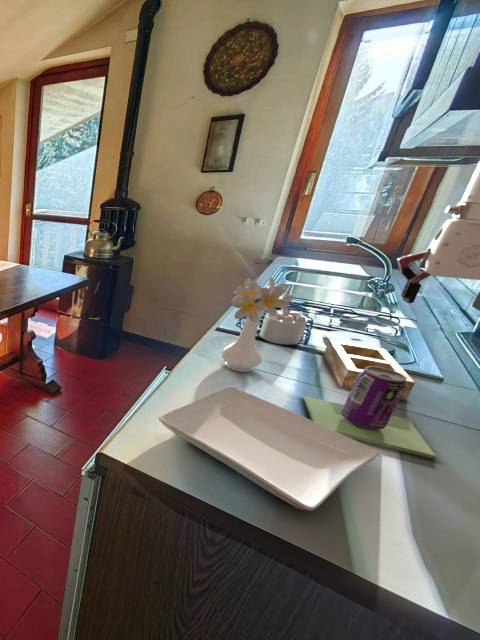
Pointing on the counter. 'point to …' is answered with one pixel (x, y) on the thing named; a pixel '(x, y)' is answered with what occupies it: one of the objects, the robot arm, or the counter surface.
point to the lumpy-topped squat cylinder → (284, 327)
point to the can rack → (360, 363)
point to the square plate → (270, 445)
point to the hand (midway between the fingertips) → (441, 305)
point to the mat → (392, 436)
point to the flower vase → (253, 320)
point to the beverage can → (374, 397)
